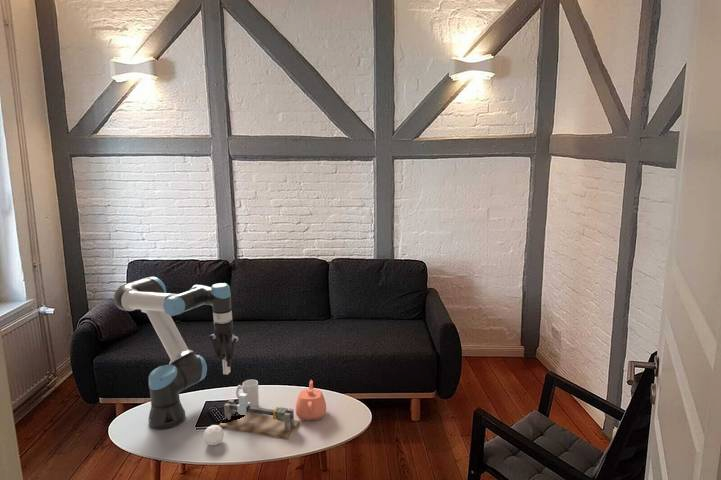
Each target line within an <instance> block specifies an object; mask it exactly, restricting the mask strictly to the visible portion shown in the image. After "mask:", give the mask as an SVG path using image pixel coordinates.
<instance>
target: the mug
mask: <svg viewBox="0 0 721 480" xmlns="http://www.w3.org/2000/svg"><path fill="white" fill-rule="evenodd" d="M240 390H242V391H243V392H242V393H247V394H248V402H250V406H252V407H258V408H260V407H259V406H260V403H259V402H260V401H259V382H258V380H256V379H246V380H245V381H243V382H242V384H238V385H237V388H236V390H235V391H236V392H235V395H236V397H237V399H238V401H239V397H238V395H239V394H240Z"/></svg>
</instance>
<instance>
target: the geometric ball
mask: <svg viewBox="0 0 721 480" xmlns="http://www.w3.org/2000/svg"><path fill="white" fill-rule="evenodd" d="M224 435H225V432H224V430H223V428H221V427H220V426H219V424H212V425H210V426H208V427H206V428H205V430H204V432H203V439H204V441H205V443H206V444H208V445H209V446H216V445H219V444H220V443H221V442H222V441H223V439H224Z"/></svg>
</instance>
